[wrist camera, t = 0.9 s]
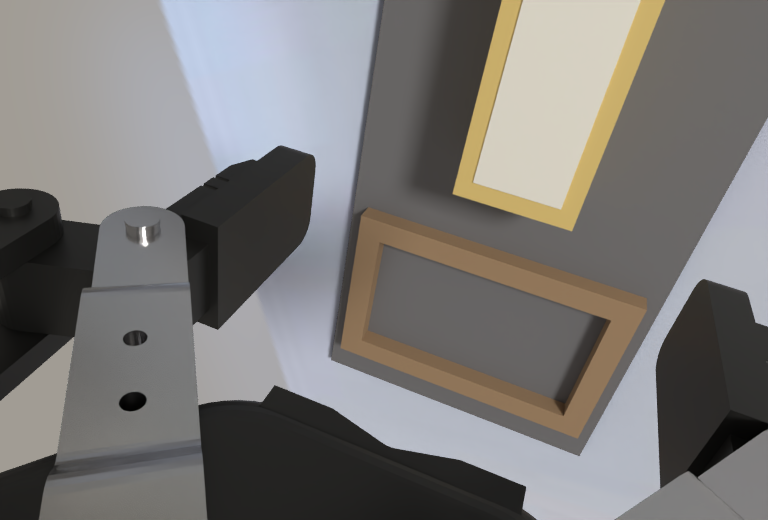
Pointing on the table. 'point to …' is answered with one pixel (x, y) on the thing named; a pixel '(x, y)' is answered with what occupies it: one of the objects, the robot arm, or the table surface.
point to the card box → (551, 102)
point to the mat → (531, 237)
